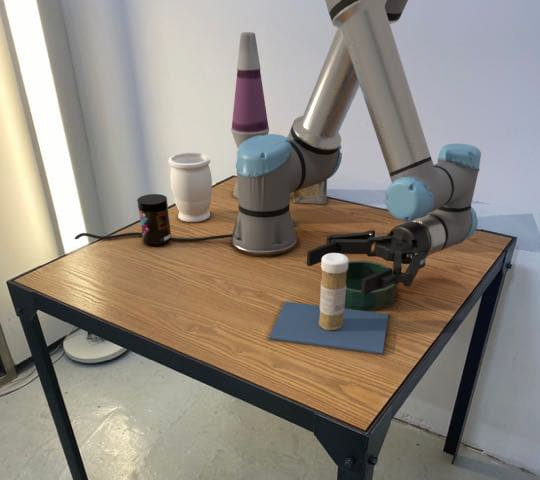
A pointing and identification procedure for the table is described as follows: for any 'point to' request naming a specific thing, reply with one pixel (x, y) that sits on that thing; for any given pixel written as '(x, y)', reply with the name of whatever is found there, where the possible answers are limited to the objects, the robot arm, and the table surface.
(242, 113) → the lamp
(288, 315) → the mat
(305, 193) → the coffee box
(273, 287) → the table surface
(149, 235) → the supplement container
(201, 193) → the jar
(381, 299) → the bowl
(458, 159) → the robot arm
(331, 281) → the sprinkles bottle
